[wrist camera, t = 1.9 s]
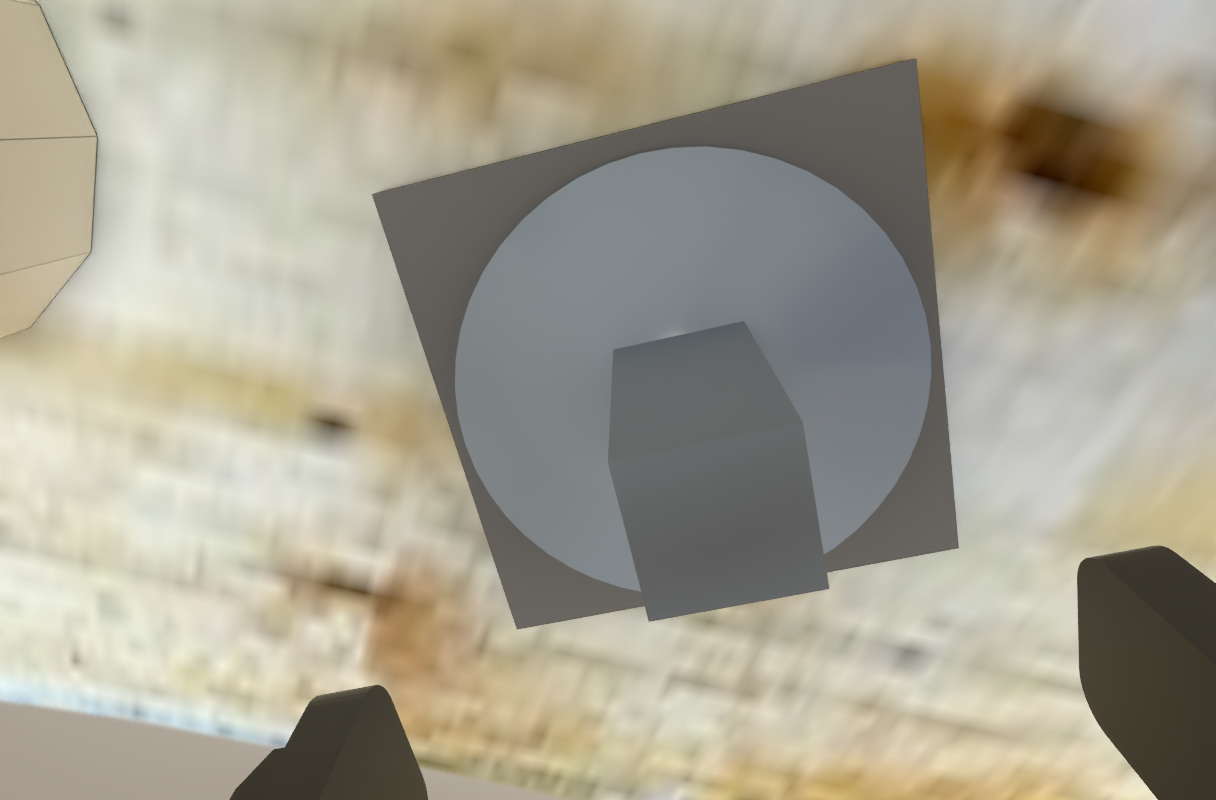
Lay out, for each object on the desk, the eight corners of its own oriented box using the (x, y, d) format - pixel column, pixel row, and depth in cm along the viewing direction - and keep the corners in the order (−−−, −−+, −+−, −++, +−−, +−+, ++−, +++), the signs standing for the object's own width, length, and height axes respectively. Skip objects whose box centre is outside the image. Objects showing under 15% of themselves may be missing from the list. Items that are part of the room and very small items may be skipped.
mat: (906, 60, 16) (916, 58, 16) (949, 535, 20) (958, 548, 20) (379, 191, 17) (371, 194, 17) (519, 616, 21) (517, 629, 21)
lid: (894, 89, 16) (1073, 71, 10) (936, 535, 20) (1087, 736, 13) (400, 211, 17) (266, 267, 11) (529, 611, 21) (487, 830, 14)
